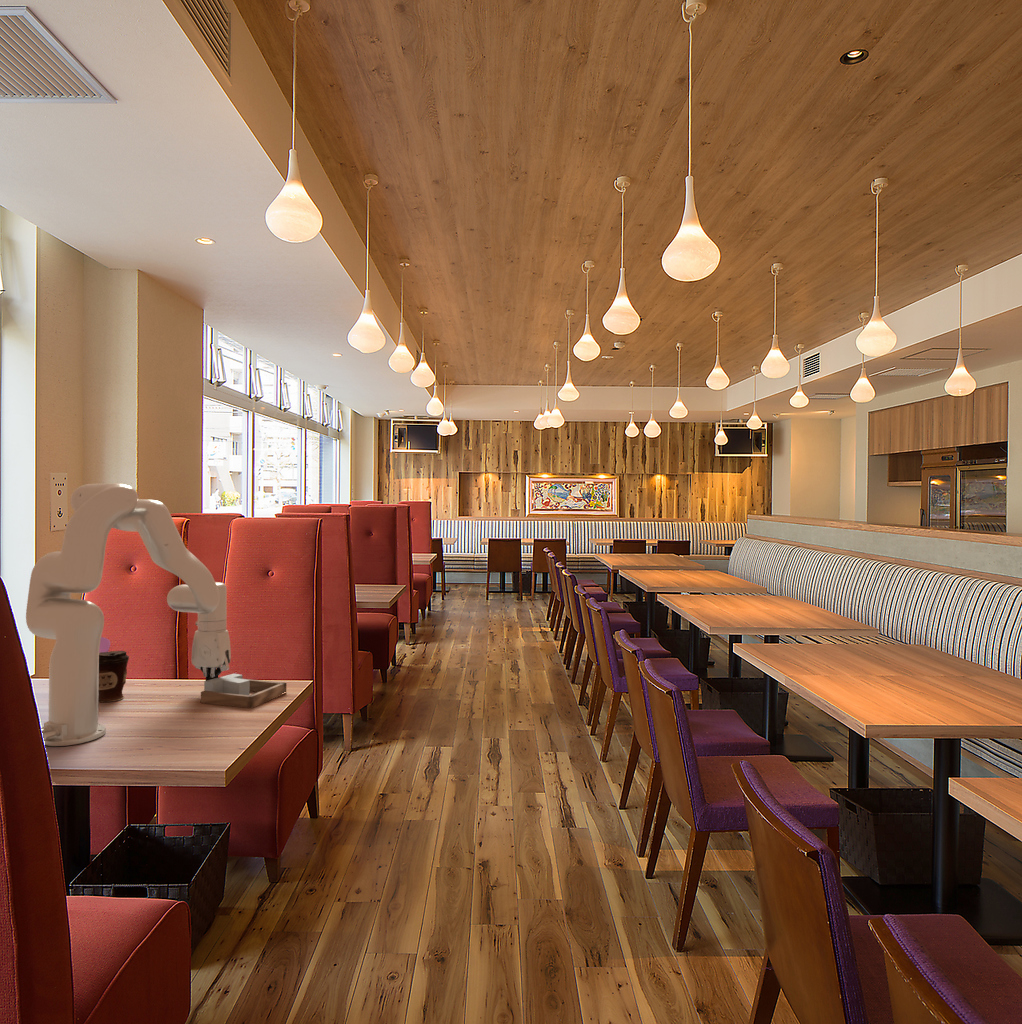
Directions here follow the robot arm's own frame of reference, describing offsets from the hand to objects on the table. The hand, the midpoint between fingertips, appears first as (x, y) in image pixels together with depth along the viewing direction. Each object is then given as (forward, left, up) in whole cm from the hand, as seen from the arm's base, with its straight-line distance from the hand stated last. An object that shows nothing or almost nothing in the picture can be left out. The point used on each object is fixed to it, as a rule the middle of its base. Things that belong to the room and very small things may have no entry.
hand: (211, 689), depth 186 cm
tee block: (-1, -8, -1) cm, 8 cm away
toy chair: (-5, +34, -2) cm, 35 cm away
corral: (0, -11, -1) cm, 11 cm away
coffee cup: (-13, +22, -1) cm, 26 cm away
